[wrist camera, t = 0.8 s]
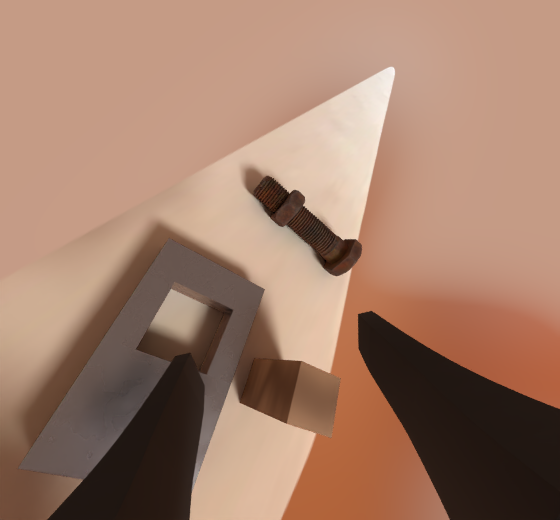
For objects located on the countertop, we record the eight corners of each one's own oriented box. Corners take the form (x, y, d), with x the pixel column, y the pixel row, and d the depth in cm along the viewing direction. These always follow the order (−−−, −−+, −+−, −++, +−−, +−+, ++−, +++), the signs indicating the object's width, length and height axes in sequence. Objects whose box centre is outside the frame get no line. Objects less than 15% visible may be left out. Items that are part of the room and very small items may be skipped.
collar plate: (182, 480, 19) (190, 496, 17) (31, 453, 15) (17, 468, 13) (253, 294, 26) (264, 289, 24) (164, 247, 23) (169, 238, 21)
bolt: (250, 196, 33) (329, 265, 36) (240, 206, 28) (331, 284, 31) (278, 162, 30) (360, 239, 33) (271, 167, 26) (367, 255, 29)
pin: (275, 414, 24) (331, 437, 17) (239, 402, 22) (286, 423, 16) (286, 371, 26) (340, 378, 19) (254, 358, 24) (301, 361, 18)
